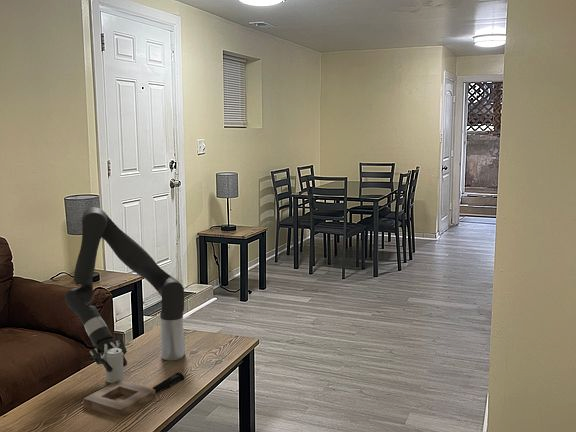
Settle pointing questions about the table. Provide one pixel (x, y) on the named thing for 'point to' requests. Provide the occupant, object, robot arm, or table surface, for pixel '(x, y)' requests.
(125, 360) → the robot arm
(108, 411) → the hole board
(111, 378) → the beverage can
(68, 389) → the table surface
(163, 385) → the electric trimmer
